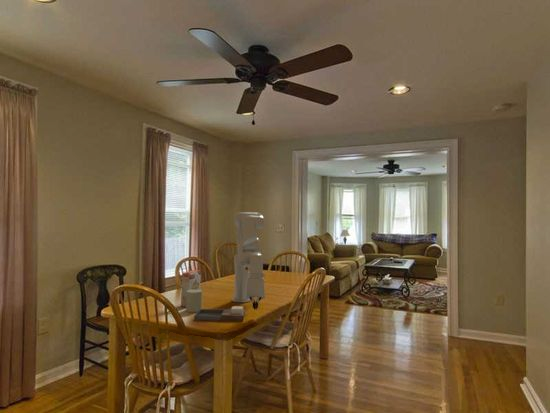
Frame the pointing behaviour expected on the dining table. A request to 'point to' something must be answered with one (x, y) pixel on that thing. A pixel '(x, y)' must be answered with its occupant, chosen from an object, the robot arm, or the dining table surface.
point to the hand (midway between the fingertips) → (255, 309)
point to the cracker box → (189, 284)
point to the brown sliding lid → (232, 315)
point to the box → (208, 315)
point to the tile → (237, 309)
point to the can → (194, 300)
